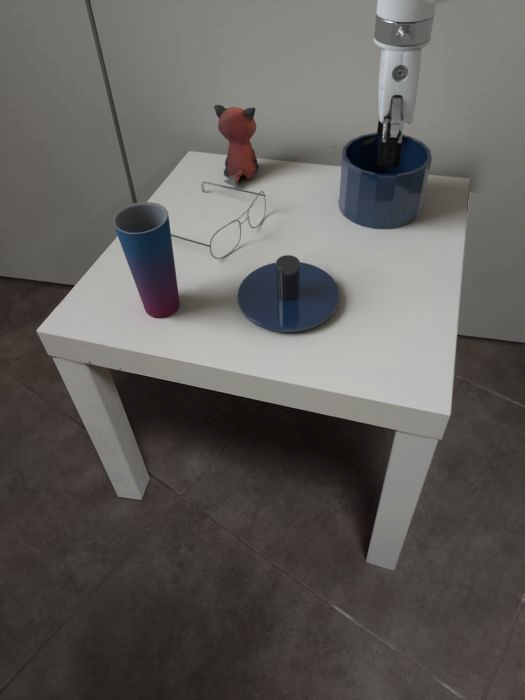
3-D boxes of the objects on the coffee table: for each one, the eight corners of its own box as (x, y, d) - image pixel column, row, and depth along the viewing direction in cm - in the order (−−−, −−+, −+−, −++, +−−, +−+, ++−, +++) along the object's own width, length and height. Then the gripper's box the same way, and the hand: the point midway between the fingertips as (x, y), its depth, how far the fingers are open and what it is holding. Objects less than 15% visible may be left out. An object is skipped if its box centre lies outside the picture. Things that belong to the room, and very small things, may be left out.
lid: (340, 269, 82) (343, 232, 77) (336, 338, 72) (339, 301, 67) (246, 265, 84) (243, 228, 79) (230, 331, 74) (225, 295, 69)
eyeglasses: (219, 265, 84) (216, 239, 80) (145, 238, 89) (138, 212, 86) (272, 213, 93) (272, 187, 89) (202, 191, 98) (198, 165, 95)
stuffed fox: (211, 191, 98) (203, 126, 89) (223, 160, 105) (216, 97, 97) (253, 193, 97) (249, 127, 88) (261, 161, 105) (258, 98, 96)
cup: (131, 319, 76) (103, 230, 65) (149, 287, 81) (126, 199, 70) (176, 325, 75) (156, 236, 64) (192, 293, 80) (175, 204, 68)
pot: (418, 185, 97) (428, 133, 90) (423, 230, 87) (434, 177, 80) (340, 182, 98) (343, 131, 91) (337, 227, 89) (340, 174, 82)
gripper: (437, 53, 67) (414, 179, 79) (427, 8, 78) (409, 125, 91) (375, 53, 67) (362, 178, 80) (374, 9, 79) (363, 124, 92)
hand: (387, 149), depth 85 cm, fingers open, 9 cm apart
